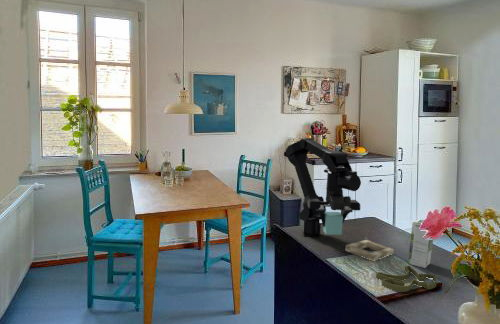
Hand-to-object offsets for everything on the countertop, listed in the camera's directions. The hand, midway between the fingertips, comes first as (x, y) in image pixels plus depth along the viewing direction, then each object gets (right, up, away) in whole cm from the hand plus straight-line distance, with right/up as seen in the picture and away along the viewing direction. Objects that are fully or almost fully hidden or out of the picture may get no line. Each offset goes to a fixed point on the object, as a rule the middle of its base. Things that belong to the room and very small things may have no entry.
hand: (332, 226), depth 141 cm
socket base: (+12, -8, -7) cm, 16 cm away
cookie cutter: (+16, -12, -30) cm, 36 cm away
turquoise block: (0, -2, 0) cm, 2 cm away
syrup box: (+26, -10, -16) cm, 32 cm away
